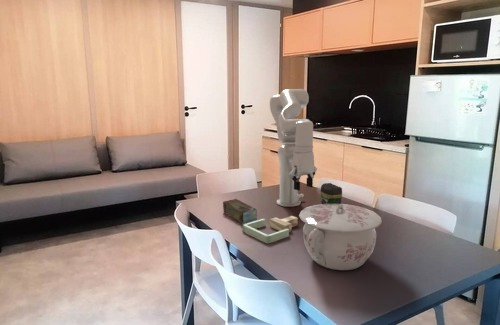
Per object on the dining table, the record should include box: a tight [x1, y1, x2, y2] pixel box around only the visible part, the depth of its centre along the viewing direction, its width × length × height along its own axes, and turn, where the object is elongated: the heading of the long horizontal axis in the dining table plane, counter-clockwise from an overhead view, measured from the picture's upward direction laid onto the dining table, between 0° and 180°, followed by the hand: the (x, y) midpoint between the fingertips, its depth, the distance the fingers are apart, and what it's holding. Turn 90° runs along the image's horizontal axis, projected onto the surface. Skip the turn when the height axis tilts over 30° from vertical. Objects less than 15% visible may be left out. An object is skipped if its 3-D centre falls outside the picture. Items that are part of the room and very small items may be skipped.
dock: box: [241, 218, 290, 244], centre depth 152 cm, size 12×16×3 cm
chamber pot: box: [298, 203, 383, 271], centre depth 125 cm, size 28×28×21 cm
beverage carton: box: [222, 198, 258, 225], centre depth 172 cm, size 8×19×7 cm, turn 33°
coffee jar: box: [320, 182, 343, 204], centre depth 159 cm, size 10×8×19 cm
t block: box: [269, 215, 299, 233], centre depth 159 cm, size 10×10×4 cm
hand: (303, 188), depth 162 cm, fingers open, 7 cm apart
